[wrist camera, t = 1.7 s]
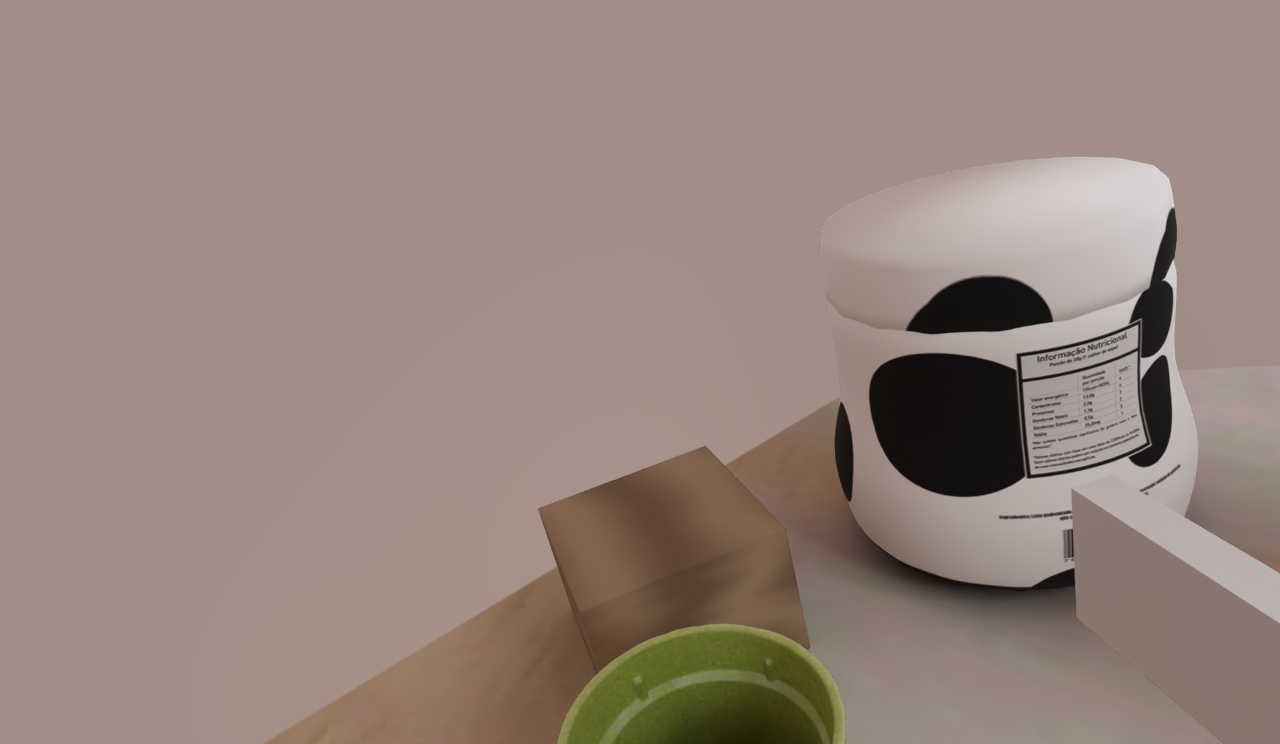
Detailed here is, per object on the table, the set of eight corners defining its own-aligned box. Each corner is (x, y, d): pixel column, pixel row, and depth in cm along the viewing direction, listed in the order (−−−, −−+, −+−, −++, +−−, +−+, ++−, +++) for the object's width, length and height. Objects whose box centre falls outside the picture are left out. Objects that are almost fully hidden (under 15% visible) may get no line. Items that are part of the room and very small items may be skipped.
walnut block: (729, 547, 49) (705, 445, 46) (810, 647, 40) (785, 528, 37) (572, 610, 47) (537, 508, 44) (619, 731, 38) (579, 611, 35)
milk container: (932, 421, 57) (901, 164, 50) (1235, 470, 44) (1247, 136, 38) (790, 562, 46) (726, 261, 40) (1133, 676, 34) (1125, 267, 27)
